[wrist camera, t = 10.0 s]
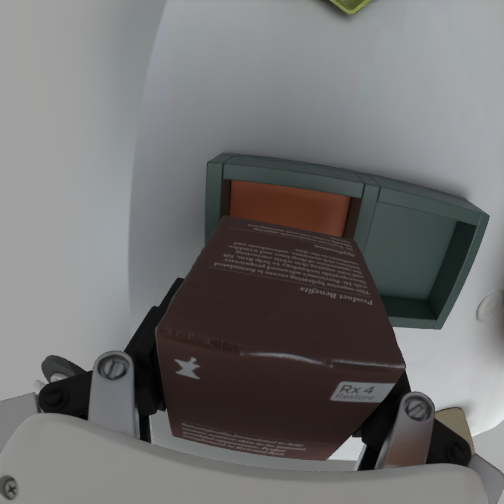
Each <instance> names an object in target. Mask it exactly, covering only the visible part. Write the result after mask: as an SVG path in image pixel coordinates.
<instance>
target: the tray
mask: <svg viewBox="0 0 504 504" xmlns="http://www.w3.org/2000/svg"><path fill="white" fill-rule="evenodd" d="M225 215H227V216H232V217H238V218H244V219H250V220H255V221H261V222H266V223H272V224H278V225H282V226H288V227H293V228H298V229H303V230H308V231H314V232H319V233H323V234H328V235H333V236H337V237H342V238H347V239H352V240H355V241H356V242H357V244H358V247H359V249H360V251H361V253H362V255H363V257H364V260H365V262H366V264H367V266H368V269H369V271H370V273H371V275H372V278H373V280H374V282H375V285H376V287H377V290H378V292H379V295H380V297H381V300H382V303H383V305H384V308H385V310H386V313H387V315H388V318H389V320H390V323H391V325H392V327H405V328H421V329H441V328H442V326H443V325H444V323H445V321H446V319H447V317H448V315H449V314H450V312H451V310H452V308H453V306H454V304H455V302H456V300H457V298H458V296H459V294H460V292H461V289H462V287H463V285H464V283H465V281H466V278H467V276H468V274H469V272H470V269H471V267H472V264H473V262H474V260H475V257H476V255H477V252H478V249H479V247H480V244H481V241H482V238H483V236H484V233H485V230H486V227H487V224H488V221H489V217H490V216H489V215H488V214H487V213H485V212H484V211H482V210H481V209H479V208H478V207H477V206H475V205H474V204H472V203H470V202H469V201H468V200H466V199H463V198H460V197H456V196H453V195H450V194H446V193H443V192H439V191H436V190H432V189H429V188H425V187H421V186H417V185H413V184H409V183H405V182H401V181H397V180H393V179H389V178H384V177H380V176H375V175H370V174H366V173H361V172H356V171H351V170H345V169H340V168H334V167H329V166H323V165H317V164H310V163H304V162H297V161H290V160H282V159H274V158H266V157H257V156H247V155H237V154H225V153H222V154H220V155H218V156H217V157H215V158H213V159H212V160H210V161H208V162H207V174H206V202H205V245H206V243H207V241H208V239H209V238H210V236H211V235H212V233H213V231H214V230H215V228H216V226H217V225H218V223H219V222H220V220H221V219H222V217H223V216H225Z"/></svg>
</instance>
